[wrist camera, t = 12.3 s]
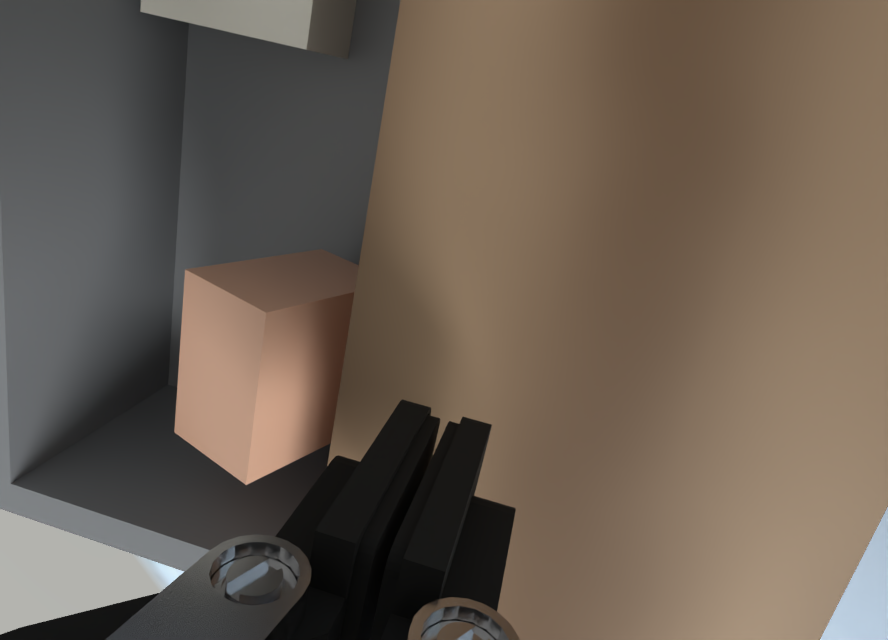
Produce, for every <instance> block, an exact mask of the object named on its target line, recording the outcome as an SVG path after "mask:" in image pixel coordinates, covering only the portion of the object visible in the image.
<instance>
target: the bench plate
mask: <svg viewBox="0 0 888 640" xmlns="http://www.w3.org/2000/svg"><path fill="white" fill-rule="evenodd" d="M402 399H403V400H406V401H410V402H413V403H417V404H421V405H424V406H428V407H431V416H434V417H437V418H440V425H439V430H438V434H437V439H436V443H435V448H434V452H435V450H436V448H437V446H438V444H439V441H440V439H441V437H442V435H443V433H444V430H445V428H446V426H447V424H448V422H449V421H451V422H455V423H458V424H460V421H461V419H462V417H467V418H470V419H474V420H477V421H481V422H484V423H488V424H491V425H492V427H491V431H490V435H489V439H488V443H487V447H486V451H485V455H484V459H483V463H482V467H481V471H480V475H479V479H478V483H477V487H476V491H475V495H474V496H477V497H480V498H483V499H487V500H490V501H493V502H497V503H500V504H504V505H507V506H510V507H514V508H516V511H515V517H514V522H513V528H512V533H511V539H510V544H509V550H508V555H507V560H506V566H505V571H504V577H503V582H502V587H501V593H500V598H499V604H498V609H497V612H499V613H500V614H501V615H502V616H503V617H504V618H505V619H506V620H507V621H508V622H509V623H510V624H511V625H512V627H513V629H514V630H515V632H516V634H517V635H518V637H519V639H520V640H820V638H821V636H822V634H823V632H824V630H825V629H826V627H827V625H828V623H829V621H830V619H831V617H832V615H833V613H834V611H835V609H836V607H837V605H838V603H839V601H840V599H841V597H842V595H843V593H844V591H845V589H846V587H847V585H848V583H849V581H850V580H851V578H852V576H853V574H854V572H855V570H856V568H857V566H858V564H859V562H860V560H861V558H862V556H863V554H864V552H865V550H866V548H867V546H868V544H869V542H870V540H871V538H872V536H873V534H874V532H875V531H876V529H877V527H878V525H879V523H880V521H881V519H882V517H883V515H884V513H885V511H886V509H887V507H888V0H400V6H399V13H398V19H397V26H396V32H395V38H394V45H393V51H392V57H391V64H390V70H389V76H388V83H387V89H386V96H385V102H384V108H383V115H382V121H381V127H380V134H379V140H378V146H377V153H376V159H375V165H374V172H373V178H372V185H371V191H370V197H369V204H368V210H367V216H366V223H365V229H364V235H363V242H362V248H361V255H360V261H359V267H358V274H357V280H356V286H355V293H354V299H353V305H352V312H351V318H350V324H349V331H348V337H347V344H346V350H345V356H344V363H343V369H342V375H341V382H340V388H339V394H338V401H337V407H336V414H335V420H334V426H333V433H332V439H331V445H330V452H329V458H328V464H327V466H328V465H329V463H330V462H331V461H332V460H333V459H334V458H335V456H338V455H339V456H343V457H346V458H349V459H353V460H356V461H359V462H360V461H361V460H362V458H363V457H364V455H365V454H366V452H367V451H368V449H369V448H370V446H371V445H372V443H373V442H374V440H375V439H376V437H377V436H378V434H379V432H380V431H381V429H382V428H383V426H384V425H385V423H386V422H387V420H388V419H389V417H390V416H391V414H392V413H393V411H394V410H395V408H396V407H397V405H398V404H399V402H400V401H401V400H402ZM434 452H433V454H434Z"/></svg>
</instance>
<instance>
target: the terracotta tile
mask: <svg viewBox="0 0 888 640" xmlns="http://www.w3.org/2000/svg"><path fill="white" fill-rule="evenodd" d="M358 267H359V265H357V264H354V263H352V262H350V261H348V260H345V259H343V258H341V257H339V256H336V255H334V254H332V253H329V252H327V251H325V250H323V249H319V250H312V251H306V252H299V253H292V254H285V255H278V256H272V257H265V258H258V259H251V260H245V261H238V262H231V263H224V264H217V265H211V266H204V267H197V268H190V269H185V279H184V294H183V309H182V324H181V339H180V354H179V370H178V385H177V400H176V415H175V430H174V432H175V433H176V434H177V435H179V436H180V437H181V438H183V439H184V440H186V441H187V442H188V443H190V444H191V445H192V446H194V447H195V448H196V449H198V450H199V451H200V452H202V453H203V454H205V455H206V456H207V457H209V458H210V459H211V460H213V461H214V462H215V463H217V464H218V465H219V466H221V467H222V468H224V469H225V470H226V471H228V472H229V473H230V474H232V475H233V476H234V477H236V478H237V479H238V480H240V481H241V482H243V483H244V484H245V485H247V484H249V483H251V482H253V481H255V480H257V479H259V478H261V477H263V476H265V475H268V474H270V473H272V472H274V471H276V470H278V469H280V468H282V467H284V466H286V465H288V464H290V463H292V462H294V461H296V460H298V459H300V458H302V457H304V456H306V455H308V454H310V453H312V452H314V451H316V450H318V449H320V448H322V447H324V446H326V445H328V444H330V443H331V439H332V433H333V426H334V420H335V414H336V407H337V401H338V394H339V388H340V382H341V375H342V369H343V363H344V356H345V350H346V344H347V337H348V331H349V324H350V318H351V312H352V305H353V299H354V293H355V286H356V280H357V274H358Z"/></svg>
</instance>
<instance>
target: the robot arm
mask: <svg viewBox="0 0 888 640" xmlns="http://www.w3.org/2000/svg"><path fill="white" fill-rule="evenodd" d="M439 425H440V418H437V417H434V416H431V407H428V406H424V405H421V404H417V403H413V402H410V401H406V400H403V399H402V400H401V401H400V402H399V404H398V405H397V407H396V408H395V410H394V411H393V413H392V414H391V416H390V417H389V419H388V420H387V422H386V423H385V425H384V426H383V428H382V429H381V431H380V432H379V434H378V436H377V437H376V439H375V440H374V442H373V443H372V445H371V446H370V448H369V449H368V451H367V452H366V454H365V455H364V457H363V458H362V460H361V461H360V462H359V461H356V460H353V459H349V458H346V457H343V456H339V455H338V456H335V458H334V459H333V460H332V461H331V462H330V463H329V465H328V466H327V467H326V469H325V470H324V472H323V473H322V474H321V476H320V477H319V478H318V480H317V481H316V482H315V484H314V485H313V486H312V488H311V489H310V490H309V492H308V493H307V494H306V496H305V497H304V498H303V500H302V501H301V502H300V504H299V505H298V506H297V508H296V509H295V511H294V512H293V513H292V515H291V516H290V517H289V519H288V520H287V521H286V523H285V524H284V525H283V527H282V528H281V529H280V531H279V532H278V533H277V535H276V536H275V537H274V536H269V535H257V534H254V535H246V536H238V537H235V538H233V539H230V540H227V541H224V542H222V543H220V544H219V545H217V546H216V547H214V548H213V549H211V550H210V551H208V552H207V553H206V554H205V555H204V556H203V557H201V558H200V559H199V560H198V561H197V562H196V563H194V564H193V565H192V566H191V567H190V568H189V569H187V570H186V571H185V572H184V573H183V574H182V575H180V576H179V577H178V578H177V579H176V580H174V581H173V582H172V583H171V584H170V585H169V586H167V587H166V588H165V589H164V590H163V591H162V592H160V593H157V594H153V595H149V596H145V597H141V598H137V599H133V600H129V601H125V602H121V603H117V604H113V605H109V606H105V607H101V608H97V609H94V610H90V611H85V612H81V613H77V614H74V615H69V616H65V617H61V618H57V619H53V620H49V621H46V622H41V623H37V624H33V625H29V626H25V627H22V628H18V629H16V630H13V631H10V632H7V633H4V634H1V635H0V640H520V639H519V637H518V635H517V634H516V632H515V630H514V629H513V627H512V625H511V624H510V623H509V622H508V621H507V620H506V619H505V618H504V617H503V616H502V615H501V614H500V613H499V612H497V609H498V604H499V598H500V593H501V587H502V582H503V577H504V571H505V566H506V560H507V555H508V550H509V544H510V539H511V533H512V528H513V522H514V517H515V511H516V508H514V507H510V506H507V505H504V504H500V503H497V502H493V501H490V500H487V499H483V498H480V497H477V496H474V495H475V491H476V487H477V483H478V479H479V475H480V471H481V467H482V463H483V459H484V455H485V451H486V447H487V443H488V439H489V435H490V431H491V427H492V425H491V424H488V423H484V422H481V421H477V420H474V419H470V418H467V417H462V419H461V421H460V424H458V423H455V422H451V421H449V422H448V424H447V426H446V428H445V430H444V433H443V435H442V437H441V439H440V441H439V444H438V446H437V448H436V450H435V452H434V448H435V443H436V439H437V434H438V430H439ZM433 452H434V454H433Z"/></svg>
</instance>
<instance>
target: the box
mask: <svg viewBox="0 0 888 640" xmlns="http://www.w3.org/2000/svg"><path fill="white" fill-rule="evenodd" d="M399 6H400V0H357V1H356V8H355V14H354V21H353V27H352V34H351V41H350V47H349V54H348V59H344V58H340V57H335V56H331V55H327V54H322V53H318V52H314V51H309V50H305V49H300V48H296V47H292V46H287V45H283V44H279V43H274V42H270V41H265V40H261V39H257V38H252V37H248V36H244V35H239V34H235V33H231V32H226V31H222V30H217V29H213V28H209V27H204V26H200V25H196V24H191V23H187V22H183V21H178V20H174V19H170V18H165V17H161V16H157V15H152V14H148V13H144V12H140V7H141V0H0V509H3V510H6V511H9V512H12V513H15V514H17V515H20V516H24V517H26V518H29V519H32V520H35V521H38V522H41V523H44V524H47V525H50V526H53V527H56V528H59V529H61V530H64V531H67V532H70V533H73V534H76V535H79V536H82V537H85V538H88V539H91V540H94V541H97V542H100V543H103V544H106V545H108V546H112V547H115V548H118V549H120V550H123V551H126V552H129V553H132V554H135V555H138V556H141V557H144V558H147V559H150V560H152V561H155V562H158V563H161V564H164V565H167V566H170V567H173V568H176V569H179V570H182V571H186V570H187V569H189V568H190V567H191V566H192V565H193V564H194V563H196V562H197V561H198V560H199V559H200V558H201V557H203V556H204V555H205V554H206V553H207V552H208V551H210V550H211V549H213V548H214V547H216V546H217V545H219V544H220V543H222V542H224V541H227V540H230V539H233V538H235V537H238V536H246V535H254V534H257V535H269V536H274V537H275V536H276V535H277V533H278V532H279V531H280V529H281V528H282V527H283V525H284V524H285V523H286V521H287V520H288V519H289V517H290V516H291V515H292V513H293V512H294V511H295V509H296V508H297V506H298V505H299V504H300V502H301V501H302V500H303V498H304V497H305V496H306V494H307V493H308V492H309V490H310V489H311V488H312V486H313V485H314V484H315V482H316V481H317V480H318V478H319V477H320V476H321V474H322V473H323V472H324V470H325V469H326V467H327V464H328V458H329V452H330V445H331V443H330V444H328V445H326V446H324V447H322V448H320V449H318V450H316V451H314V452H312V453H310V454H308V455H306V456H304V457H302V458H300V459H298V460H296V461H294V462H292V463H290V464H288V465H286V466H284V467H282V468H280V469H278V470H276V471H274V472H272V473H270V474H268V475H265V476H263V477H261V478H259V479H257V480H255V481H253V482H251V483H249V484H247V485H245V484H244V483H243V482H241V481H240V480H238V479H237V478H236V477H234V476H233V475H232V474H230V473H229V472H228V471H226V470H225V469H224V468H222V467H221V466H219V465H218V464H217V463H215V462H214V461H213V460H211V459H210V458H209V457H207V456H206V455H205V454H203V453H202V452H200V451H199V450H198V449H196V448H195V447H194V446H192V445H191V444H190V443H188V442H187V441H186V440H184V439H183V438H181V437H180V436H179V435H177V434H176V433H175V432H174V430H175V415H176V400H177V385H178V370H179V354H180V339H181V324H182V309H183V294H184V279H185V269H190V268H197V267H204V266H211V265H217V264H224V263H231V262H238V261H245V260H251V259H258V258H265V257H272V256H278V255H285V254H292V253H299V252H306V251H312V250H319V249H323V250H325V251H327V252H329V253H332V254H334V255H336V256H339V257H341V258H343V259H345V260H348V261H350V262H352V263H354V264H357V265H359V261H360V255H361V248H362V242H363V235H364V229H365V223H366V216H367V210H368V204H369V197H370V191H371V185H372V178H373V172H374V165H375V159H376V153H377V146H378V140H379V134H380V127H381V121H382V115H383V108H384V102H385V96H386V89H387V83H388V76H389V70H390V64H391V57H392V51H393V45H394V38H395V32H396V26H397V19H398V13H399Z"/></svg>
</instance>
